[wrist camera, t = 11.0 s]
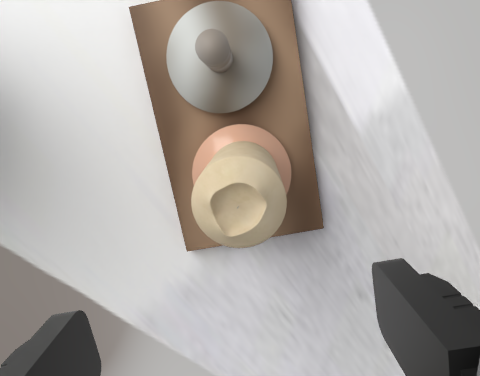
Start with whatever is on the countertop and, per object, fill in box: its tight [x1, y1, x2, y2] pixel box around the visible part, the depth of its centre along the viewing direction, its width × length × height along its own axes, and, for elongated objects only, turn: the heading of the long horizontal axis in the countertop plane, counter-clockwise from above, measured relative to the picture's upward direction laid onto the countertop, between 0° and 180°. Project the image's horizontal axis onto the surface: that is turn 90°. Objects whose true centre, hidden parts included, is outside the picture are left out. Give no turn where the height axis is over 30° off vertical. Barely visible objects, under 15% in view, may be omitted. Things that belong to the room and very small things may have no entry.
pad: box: [192, 124, 291, 194], centre depth 30 cm, size 8×8×1 cm
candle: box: [191, 141, 287, 248], centre depth 24 cm, size 6×6×10 cm
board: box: [129, 0, 324, 251], centre depth 26 cm, size 12×20×8 cm, turn 11°
